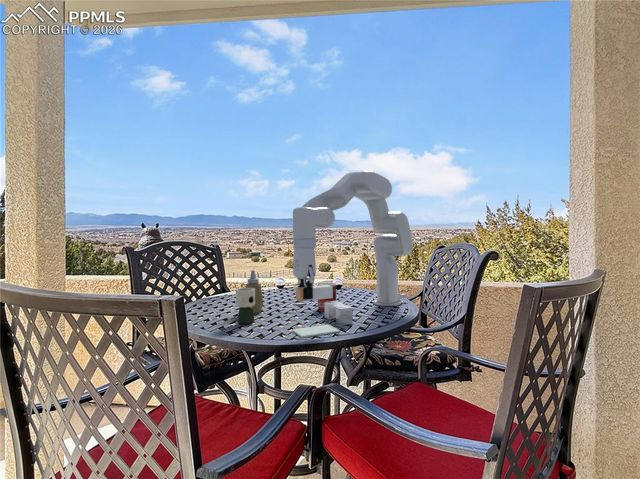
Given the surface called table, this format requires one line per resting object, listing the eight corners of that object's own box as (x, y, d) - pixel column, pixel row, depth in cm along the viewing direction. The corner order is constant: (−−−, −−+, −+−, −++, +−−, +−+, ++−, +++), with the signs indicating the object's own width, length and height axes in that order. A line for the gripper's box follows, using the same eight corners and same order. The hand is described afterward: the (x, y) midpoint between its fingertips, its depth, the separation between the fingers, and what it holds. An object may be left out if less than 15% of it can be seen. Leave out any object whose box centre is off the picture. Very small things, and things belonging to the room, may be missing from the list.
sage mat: (328, 326, 140) (328, 324, 140) (340, 332, 132) (339, 330, 132) (292, 331, 134) (292, 329, 134) (301, 337, 126) (301, 336, 126)
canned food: (336, 311, 164) (336, 285, 163) (317, 311, 164) (317, 285, 163) (336, 307, 171) (335, 282, 171) (318, 307, 172) (317, 282, 171)
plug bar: (327, 296, 137) (327, 284, 136) (332, 298, 133) (332, 286, 133) (295, 299, 132) (295, 287, 132) (300, 301, 128) (299, 289, 128)
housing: (336, 315, 155) (335, 300, 155) (352, 323, 142) (352, 307, 142) (324, 317, 153) (324, 302, 153) (340, 325, 140) (340, 308, 140)
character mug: (250, 327, 141) (249, 291, 140) (231, 326, 142) (230, 291, 141) (259, 319, 151) (258, 286, 151) (242, 319, 152) (241, 286, 152)
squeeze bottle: (265, 310, 168) (264, 269, 167) (261, 314, 160) (259, 271, 159) (247, 310, 168) (246, 269, 168) (241, 314, 160) (240, 271, 160)
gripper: (285, 243, 136) (287, 295, 137) (302, 245, 121) (304, 303, 122) (305, 242, 139) (306, 293, 140) (324, 244, 124) (325, 301, 125)
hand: (305, 297), depth 131 cm, fingers closed on plug bar, 4 cm apart
